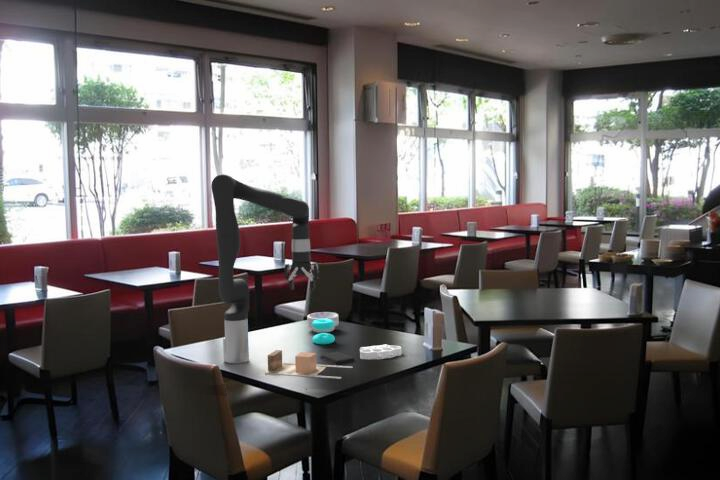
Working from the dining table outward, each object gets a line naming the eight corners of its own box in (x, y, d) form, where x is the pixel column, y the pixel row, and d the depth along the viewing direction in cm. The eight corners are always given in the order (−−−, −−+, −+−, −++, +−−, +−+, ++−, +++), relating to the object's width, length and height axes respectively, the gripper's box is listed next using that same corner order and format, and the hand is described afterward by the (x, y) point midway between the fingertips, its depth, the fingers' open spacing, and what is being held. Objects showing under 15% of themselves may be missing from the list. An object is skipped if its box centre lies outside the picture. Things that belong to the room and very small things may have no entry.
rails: (268, 377, 241) (268, 373, 241) (284, 366, 256) (284, 362, 256) (340, 382, 233) (340, 377, 233) (352, 370, 248) (352, 366, 248)
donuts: (313, 318, 298) (335, 318, 298) (313, 339, 299) (335, 339, 299) (311, 322, 288) (333, 322, 288) (311, 345, 289) (334, 344, 289)
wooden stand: (265, 375, 243) (264, 356, 243) (278, 366, 255) (277, 348, 254) (315, 378, 238) (315, 359, 237) (326, 369, 249) (326, 351, 249)
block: (295, 372, 243) (295, 356, 242) (301, 367, 249) (301, 352, 248) (310, 373, 241) (310, 357, 241) (316, 368, 247) (316, 353, 247)
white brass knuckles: (391, 349, 280) (407, 357, 266) (352, 354, 273) (366, 363, 259) (391, 342, 280) (406, 349, 266) (352, 346, 272) (366, 354, 259)
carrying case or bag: (360, 364, 257) (340, 357, 269) (360, 357, 257) (340, 349, 269) (337, 369, 251) (318, 361, 263) (336, 361, 251) (317, 353, 263)
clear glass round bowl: (321, 336, 306) (320, 319, 306) (301, 331, 318) (300, 315, 317) (345, 330, 317) (345, 314, 316) (325, 326, 328) (325, 310, 327)
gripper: (281, 250, 263) (282, 290, 264) (314, 251, 259) (315, 291, 260) (288, 249, 270) (289, 288, 271) (320, 249, 266) (321, 288, 267)
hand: (302, 289), depth 265 cm, fingers open, 8 cm apart
